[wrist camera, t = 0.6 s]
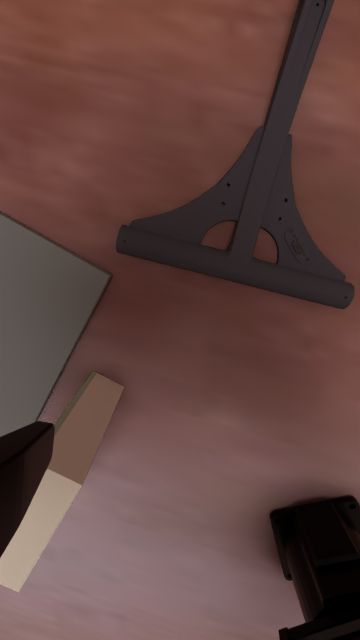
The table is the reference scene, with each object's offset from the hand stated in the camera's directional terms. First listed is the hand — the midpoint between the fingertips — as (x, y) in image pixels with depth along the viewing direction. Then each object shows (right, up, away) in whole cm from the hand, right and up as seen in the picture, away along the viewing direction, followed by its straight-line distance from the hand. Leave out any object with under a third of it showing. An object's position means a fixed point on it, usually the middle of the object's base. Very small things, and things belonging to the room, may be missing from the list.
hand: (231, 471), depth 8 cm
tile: (-8, -3, +15) cm, 17 cm away
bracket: (+4, +13, +11) cm, 18 cm away
